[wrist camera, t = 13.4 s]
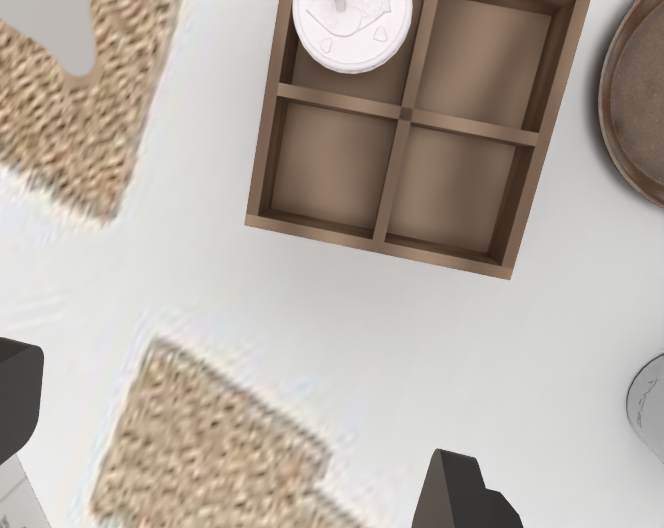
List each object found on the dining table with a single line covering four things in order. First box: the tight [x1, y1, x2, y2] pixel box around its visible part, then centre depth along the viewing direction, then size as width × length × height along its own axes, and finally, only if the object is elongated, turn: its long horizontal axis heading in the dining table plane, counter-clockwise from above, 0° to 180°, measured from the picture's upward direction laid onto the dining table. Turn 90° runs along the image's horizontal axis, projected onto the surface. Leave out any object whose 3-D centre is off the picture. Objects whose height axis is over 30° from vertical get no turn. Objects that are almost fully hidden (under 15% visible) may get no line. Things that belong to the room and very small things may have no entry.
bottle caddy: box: [245, 0, 590, 280], centre depth 35 cm, size 18×18×6 cm
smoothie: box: [293, 0, 413, 74], centre depth 29 cm, size 6×6×14 cm
